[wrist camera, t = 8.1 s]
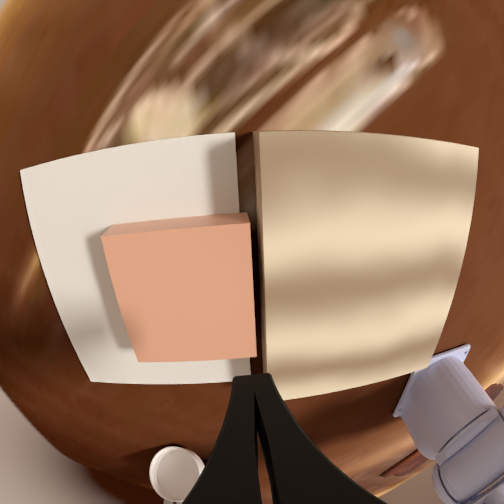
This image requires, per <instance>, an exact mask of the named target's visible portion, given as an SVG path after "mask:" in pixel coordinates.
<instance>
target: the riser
mask: <svg viewBox="0 0 504 504" xmlns="http://www.w3.org/2000/svg"><path fill="white" fill-rule="evenodd" d="M253 147H254V168H255V190H256V212H257V235H258V258H259V282H260V307H261V333H262V360H263V373H270V374H271V375H272V378H273V380H274V383H275V385H276V387H277V389H278V391H279V393H280V395H281V397H282V399H283V400H288V399H295V398H302V397H308V396H314V395H320V394H325V393H331V392H336V391H341V390H345V389H350V388H355V387H359V386H363V385H367V384H372V383H376V382H379V381H383V380H387V379H391V378H394V377H398V376H401V375H405V374H408V373H412V372H415V371H418V370H421V369H424V368H427V367H428V365H429V363H430V360H431V358H432V356H433V353H434V351H435V348H436V346H437V343H438V340H439V338H440V335H441V332H442V330H443V327H444V324H445V321H446V318H447V315H448V312H449V309H450V306H451V303H452V299H453V296H454V293H455V289H456V286H457V282H458V278H459V274H460V270H461V266H462V262H463V258H464V254H465V249H466V244H467V240H468V234H469V229H470V223H471V217H472V211H473V204H474V197H475V188H476V179H477V167H478V151H479V148H476V147H472V146H467V145H462V144H457V143H452V142H446V141H439V140H433V139H425V138H418V137H409V136H400V135H390V134H379V133H365V132H348V131H318V130H281V131H253Z"/></svg>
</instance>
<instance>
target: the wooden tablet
mask: <svg viewBox="0 0 504 504" xmlns="http://www.w3.org/2000/svg"><path fill="white" fill-rule="evenodd" d="M502 389H503V386H502V385H501V384H498V385H497V384H492V385H490V386H489V387H488V388H487V389H486V390H485V392H486V393H487V394H488V396H489V397H490V398H491V400H492V401H493V400H494V399H495V398H496V397H497V396H498V394H499V393H500V392H501V391H502ZM427 460H428V458H426V457H425V456H423V455H422V454H421V453H420V452H419V451H418V450H416V451H415V452H414V453H412V454H411V455H409V456H408V457H406V458H405V459H403V460H402V461H401V462H399V463H398V464H396V465H394V466H393V467H392V468H390V469H389V470H387V471H386V472H384V473H383V474H382V477H387V476H390V475H393V474H394V475H396V476H403V475H406V474H408V473H410V472H411V471H413V470H414V469H416V468H417V467H419V466H420V465H422V464H423V463H424V462H426V461H427Z"/></svg>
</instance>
